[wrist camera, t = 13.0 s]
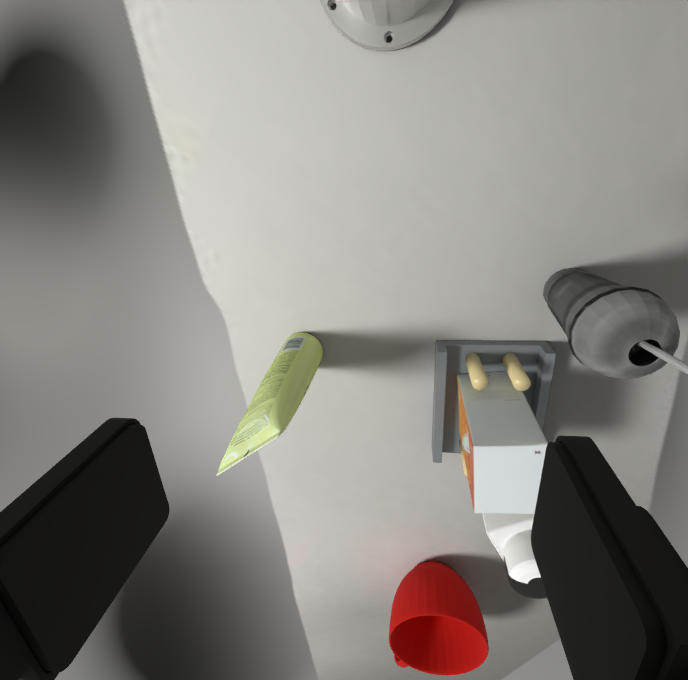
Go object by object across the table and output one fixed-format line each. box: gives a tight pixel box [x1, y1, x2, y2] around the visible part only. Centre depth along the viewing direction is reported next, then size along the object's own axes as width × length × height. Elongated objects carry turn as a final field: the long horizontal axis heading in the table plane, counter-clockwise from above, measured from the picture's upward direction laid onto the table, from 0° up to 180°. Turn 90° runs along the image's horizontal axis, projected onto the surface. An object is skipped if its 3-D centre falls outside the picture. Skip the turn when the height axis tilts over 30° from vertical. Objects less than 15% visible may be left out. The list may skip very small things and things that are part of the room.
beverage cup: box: [544, 268, 688, 379], centre depth 33 cm, size 7×7×20 cm
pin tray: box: [432, 340, 556, 478], centre depth 45 cm, size 15×12×7 cm
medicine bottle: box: [482, 513, 547, 599], centre depth 49 cm, size 7×7×12 cm
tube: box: [217, 333, 323, 476], centre depth 41 cm, size 6×5×20 cm
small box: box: [457, 372, 548, 514], centre depth 42 cm, size 8×6×13 cm
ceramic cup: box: [389, 561, 489, 675], centre depth 58 cm, size 13×17×10 cm
